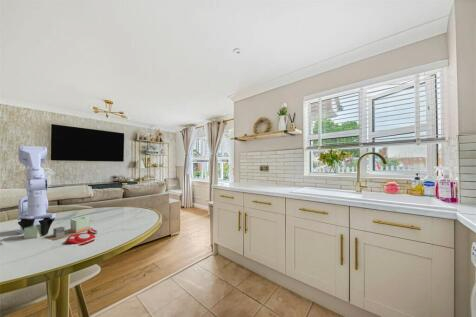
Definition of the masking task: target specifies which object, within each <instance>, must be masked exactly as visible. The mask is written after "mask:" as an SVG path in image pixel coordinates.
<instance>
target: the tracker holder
mask: <svg viewBox="0 0 476 317" xmlns="http://www.w3.org/2000/svg"><path fill="white" fill-rule="evenodd" d="M96 234H98V230H97V229H95V228H93V229H89V228H88V231H85V232H82V233H78V234H74V235H71V236H68V237H66V240H65V241H64V244H72V245H78V246H85V245H88V244H91V243H93V242H95V240H96V239H95V238H96Z"/></svg>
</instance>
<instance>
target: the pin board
mask: <svg viewBox="0 0 476 317" xmlns="http://www.w3.org/2000/svg"><path fill="white" fill-rule="evenodd" d="M90 229H94V228H93V227H90ZM87 231H88V229H87V230H83V231H80V232H72V231H70V229H68V230H65V227H64V226H58V227H54V228H53V232H52V233H53V234H49V235H44V239H48V240H51V241H57V240H61V239H64V238H68V237H69V236H71V235H74V234H79V233H86V232H87Z"/></svg>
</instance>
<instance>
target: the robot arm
mask: <svg viewBox="0 0 476 317" xmlns="http://www.w3.org/2000/svg"><path fill="white" fill-rule="evenodd" d="M17 152H18V154H17V156H18V162H19V164H22V165H24V167H25V169H26V171H25V172H26V174H25V175H26V182H25V183H26V184H25V188H26V194H25V195H24V196H22V197H21V198H19V200H18V206H17V207H18V210H17V211H18V215H17V221H18V222H17V224H18V225H19V226H20V230H18V231H17V233H19V234H22V235H24V228H27V227H30V226H33V225H36V224H40V225H41V232H42V235H44V236H47V235H48V231H49V232H50V228H51V226H52V224H53V223H54V221H55V220H56V218H57V213H51V212H50V213H49V212H47V211H48V209H49V200H48V196H47V191H48V188H49V182H48V178H47V176H46V173H45V169H44V168H43V167H42V166H41V165H42V164H44V163H45V162H46V161H47V160H46V159H47V155H48V148H47V146H45V145H44V146H38V145H37V146H36V145H35V146H33V145H19V146H18V151H17Z"/></svg>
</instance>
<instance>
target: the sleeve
mask: <svg viewBox="0 0 476 317" xmlns="http://www.w3.org/2000/svg"><path fill="white" fill-rule="evenodd" d="M48 234H49V235H50V230H49V231H48ZM48 234H47V235H48ZM42 236H43V237H45V235H42V232H41V225H40V224H36V225H33V226H30V227H27V228H24V234H23V239H24V240H27V239H39V238H41V237H42Z"/></svg>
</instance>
